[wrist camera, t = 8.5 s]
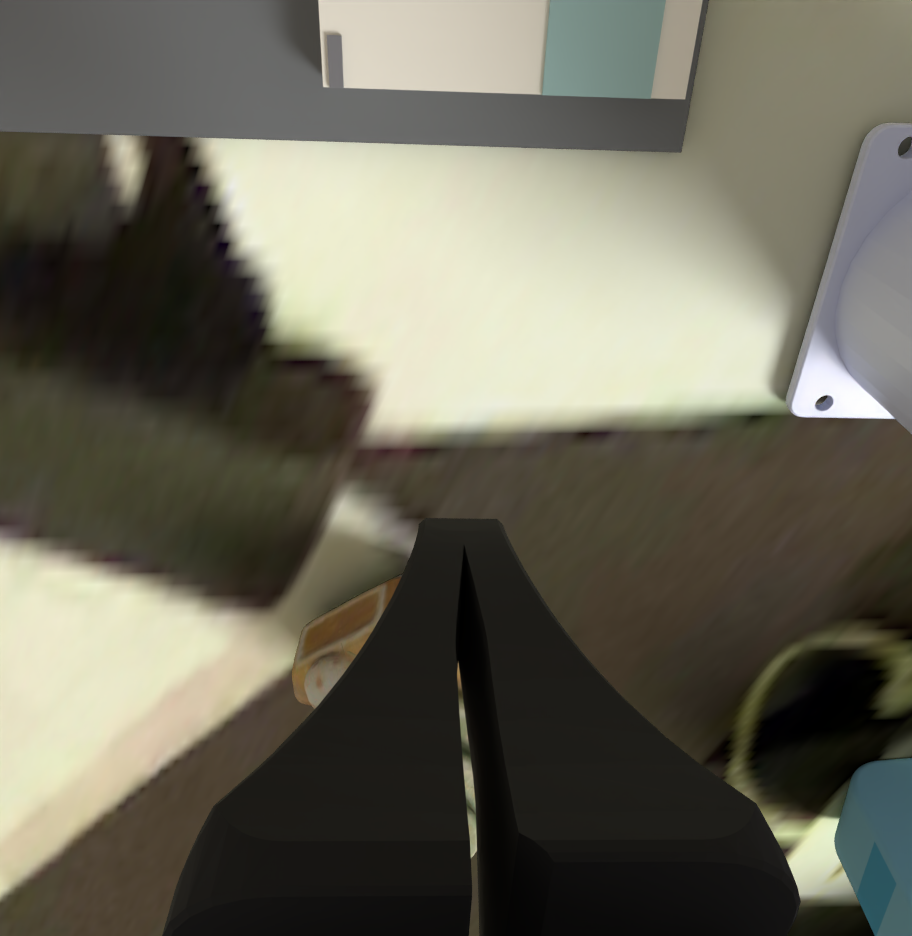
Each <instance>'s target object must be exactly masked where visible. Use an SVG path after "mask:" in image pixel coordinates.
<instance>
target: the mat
mask: <svg viewBox="0 0 912 936" xmlns="http://www.w3.org/2000/svg"><path fill="white" fill-rule="evenodd" d="M708 2H709V0H703V2H702V7H701V13H700V18H699V24H698V30H697V35H696V41H695V47H694V52H693V58H692V64H691V69H690V75H689V80H688V86H687V92H686V97H685V99H656V98H651V99H640V98H610V97H581V96H551V95H538V94H508V93H479V92H449V91H420V90H390V89H361V88H329V87H323V76H322V58H321V40H320V22H319V4H318V0H0V131H9V132H41V133H73V134H105V135H137V136H169V137H201V138H233V139H265V140H297V141H329V142H361V143H393V144H425V145H457V146H489V147H521V148H553V149H585V150H617V151H649V152H681V151H682V146H683V140H684V135H685V129H686V123H687V118H688V112H689V107H690V101H691V96H692V90H693V85H694V79H695V74H696V68H697V63H698V57H699V52H700V46H701V41H702V35H703V30H704V24H705V19H706V13H707V7H708Z"/></svg>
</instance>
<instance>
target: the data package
mask: <svg viewBox="0 0 912 936" xmlns="http://www.w3.org/2000/svg"><path fill="white" fill-rule="evenodd" d="M834 842H835V849H836V852H837V855H838V857H839V859H840V862H841V864H842V866H843V868H844V870H845V872H846V874H847V877H848V879H849V881H850V883H851V885H852V887H853V890H854V892H855V894H856V896H857V898H858V900H859V903H860V905H861V907H862V909H863V911H864V913H865V916H866V918H867V920H868V922H869V924H870V926H871V929H872V931H873V933H874V935H875V936H912V758H904V759H892V760H880V761H872V762H868V763H866V764H864V765H862V766H860V767H859V768H858V769H857V770H856V771H855V772H854V774H853V776H852V778H851V781H850V785H849V788H848V791H847V795H846V798H845V802H844V805H843V809H842V812H841V816H840V819H839V823H838V826H837V830H836V833H835V841H834Z"/></svg>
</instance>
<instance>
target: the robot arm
mask: <svg viewBox="0 0 912 936" xmlns="http://www.w3.org/2000/svg"><path fill="white" fill-rule="evenodd" d="M907 137H911V139H912V123H884V124H880V125H878V126H876V127H875V128H873V129H872V130H871V131H870V132H869V133H868V134H867V135H866V137H865V139H864V141H863V143H862V146H861V149H860V152H859V156H858V159H857V162H856V166H855V169H854V172H853V176H852V179H851V182H850V186H849V189H848V192H847V196H846V199H845V202H844V206H843V209H842V212H841V216H840V219H839V222H838V226H837V229H836V232H835V236H834V239H833V242H832V246H831V249H830V252H829V256H828V259H827V263H826V266H825V269H824V273H823V276H822V279H821V283H820V286H819V289H818V293H817V296H816V299H815V303H814V306H813V309H812V313H811V316H810V319H809V323H808V326H807V329H806V333H805V336H804V339H803V343H802V346H801V349H800V353H799V356H798V359H797V363H796V366H795V369H794V373H793V376H792V379H791V383H790V386H789V389H788V393H787V396H786V405H787V407H788V409H789V410H790V411H791V412H792V413H793V414H794V415H796V416H799V417H820V418H876V419H896V420H897V421H898V422H899V423H900V424H901V425H902V426H903V427H905V428H906V429H907V430H908V431H909V432H910V433H911V434H912V142H911V146H910V148H909V150H908V151H907V152H906V153H905V154H903V155H901V156H899V155H898V147H899V145H900V144H901V142H902V141H903V140H904V139H906V138H907ZM825 395H827V399H826V400H825V401H824V402H823V403H822V404H819V405H815V403H816V401H817V400H818V399H819V398H820V397H822V396H825ZM458 663H459V671H460V679H461V687H462V695H463V703H464V710H465V718H466V726H467V734H468V741H469V749H470V757H471V765H472V772H473V782H474V793H475V807H476V836H477V866H478V899H479V934H480V936H787V934H788V932H789V930H790V928H791V926H792V924H793V922H794V920H795V919H796V916H797V912H798V909H799V905H800V902H801V901H800V897H799V893H798V888H797V885H796V882H795V880H794V877H793V875H792V872H791V870H790V867H789V865H788V862H787V860H786V858H785V856H784V853H783V852H782V850H781V848H780V846H779V844H778V842H777V840H776V838H775V837H774V835H773V833H772V831H771V829H770V827H769V826H768V824H767V822H766V820H765V818H764V817H763V815H762V813H761V811H760V809H759V808H758V806H757V804H756V803H755V802H753V801H752V800H750V799H749V798H747V797H746V796H745V795H743V794H742V793H740V792H739V791H737V790H736V789H735V788H733V787H732V786H730V785H729V784H727V783H726V782H725V781H723V780H722V779H720V778H719V777H717V776H716V775H715V774H713V773H712V772H710V771H709V770H707V769H706V768H705V767H703V766H702V765H700V764H699V763H698V762H696V761H695V760H694V759H692V758H691V757H690V756H689V755H688V754H686V753H685V752H684V751H683V750H681V749H680V748H679V747H678V746H676V745H675V744H674V743H673V742H671V741H670V740H669V739H668V738H666V737H665V736H664V735H663V734H662V733H661V732H660V731H659V730H658V729H657V728H655V727H654V726H653V725H652V724H651V723H650V722H649V721H648V720H647V719H646V718H645V717H643V716H642V715H641V714H640V713H639V712H638V711H637V710H636V709H635V708H634V707H633V706H631V705H630V704H629V703H628V702H627V701H626V700H625V699H624V698H623V697H622V696H621V695H620V694H619V693H618V692H617V691H616V690H615V688H614V687H613V686H612V685H611V684H610V683H609V682H608V681H607V680H606V679H605V678H604V677H603V676H602V675H601V674H600V672H599V671H598V670H597V669H596V668H595V667H594V666H593V665H592V663H591V662H590V661H589V660H588V659H587V658H586V656H585V655H584V654H583V653H582V652H581V650H580V649H579V648H578V647H577V645H576V644H575V643H574V642H573V640H572V639H571V638H570V636H569V635H568V634H567V632H566V631H565V630H564V628H563V627H562V626H561V624H560V623H559V622H558V620H557V619H556V618H555V616H554V615H553V613H552V612H551V610H550V609H549V607H548V606H547V605H546V603H545V601H544V600H543V598H542V597H541V595H540V594H539V592H538V590H537V589H536V587H535V586H534V584H533V583H532V581H531V579H530V578H529V576H528V574H527V573H526V571H525V569H524V567H523V566H522V564H521V562H520V560H519V558H518V557H517V555H516V553H515V551H514V549H513V547H512V545H511V543H510V541H509V539H508V536H507V534H506V532H505V529H504V527H503V525H502V524H501V523H500V522H499V521H498V520H497V519H448V518H426V519H424V520H423V521H422V522H421V523H419V528H418V534H417V538H416V541H415V545H414V548H413V550H412V553H411V556H410V558H409V561H408V563H407V566H406V568H405V571H404V573H403V575H402V577H401V579H400V581H399V583H398V585H397V587H396V589H395V592H394V594H393V596H392V598H391V600H390V601H389V603H388V605H387V607H386V609H385V610H384V612H383V614H382V615H381V617H380V619H379V621H378V622H377V624H376V626H375V628H374V629H373V631H372V633H371V634H370V636H369V637H368V639H367V641H366V642H365V644H364V645H363V647H362V648H361V650H360V651H359V653H358V654H357V656H356V657H355V658H354V660H353V661H352V663H351V664H350V665H349V667H348V668H347V670H346V671H345V672H344V674H343V675H342V676H341V678H340V679H339V680H338V681H337V683H336V684H335V685H334V686H333V688H332V689H331V690H330V691H329V693H328V694H327V695H326V696H325V698H324V699H323V700H322V701H321V702H320V704H319V705H318V706H317V707H316V708H315V709H314V711H313V712H312V713H311V714H310V715H309V716H308V717H307V718H306V720H305V721H304V722H303V723H302V724H301V725H300V726H299V727H298V728H297V729H296V730H295V731H294V732H293V733H292V734H291V735H290V736H289V737H288V738H287V739H286V740H285V741H284V742H283V743H282V744H281V745H280V746H279V747H278V748H277V750H276V751H275V752H274V753H273V754H272V755H271V756H270V757H268V758H267V759H266V760H265V761H264V762H263V763H262V764H261V765H260V766H259V767H258V768H257V769H255V770H254V771H253V772H252V773H251V774H250V775H249V776H247V777H246V778H245V779H244V780H243V781H242V782H241V783H239V784H238V785H237V786H236V787H235V788H234V789H233V790H231V791H230V792H229V793H228V794H227V795H226V796H225V797H223V798H222V799H221V800H220V801H219V802H218V803H216V804H215V805H214V806H213V808H212V810H211V812H210V813H209V815H208V817H207V819H206V821H205V823H204V825H203V827H202V829H201V831H200V832H199V834H198V836H197V839H196V841H195V843H194V845H193V847H192V849H191V851H190V853H189V856H188V858H187V861H186V863H185V866H184V868H183V870H182V873H181V875H180V878H179V881H178V883H177V886H176V889H175V893H174V896H173V900H172V903H171V907H170V910H169V914H168V917H167V921H166V924H165V928H164V932H163V935H162V936H469V924H470V912H471V900H472V876H471V852H470V835H469V825H468V815H467V804H466V792H465V781H464V769H463V756H462V742H461V728H460V714H459V697H458V681H457V670H458Z"/></svg>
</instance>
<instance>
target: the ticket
mask: <svg viewBox="0 0 912 936" xmlns="http://www.w3.org/2000/svg"><path fill="white" fill-rule="evenodd" d="M702 2H703V0H318V4H319V22H320V40H321V58H322V76H323V87H329V88H361V89H390V90H420V91H449V92H479V93H508V94H538V95H551V96H581V97H610V98H640V99H651V98H656V99H685V97H686V92H687V86H688V80H689V75H690V69H691V64H692V58H693V52H694V47H695V41H696V35H697V30H698V24H699V18H700V13H701V7H702Z"/></svg>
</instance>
